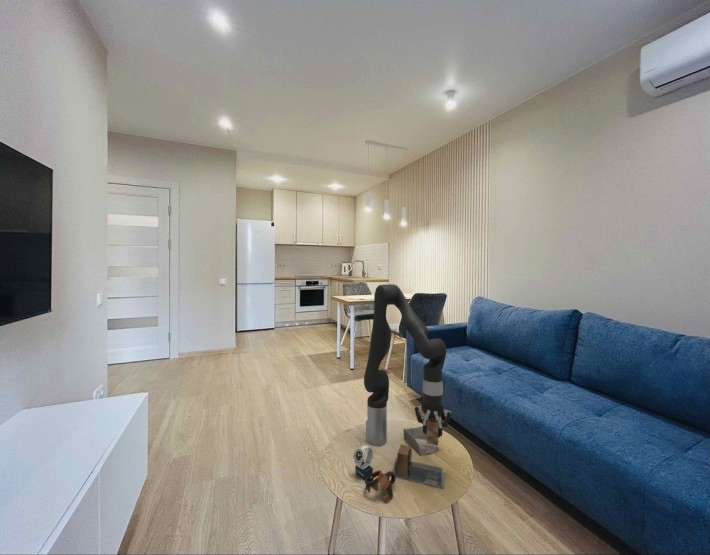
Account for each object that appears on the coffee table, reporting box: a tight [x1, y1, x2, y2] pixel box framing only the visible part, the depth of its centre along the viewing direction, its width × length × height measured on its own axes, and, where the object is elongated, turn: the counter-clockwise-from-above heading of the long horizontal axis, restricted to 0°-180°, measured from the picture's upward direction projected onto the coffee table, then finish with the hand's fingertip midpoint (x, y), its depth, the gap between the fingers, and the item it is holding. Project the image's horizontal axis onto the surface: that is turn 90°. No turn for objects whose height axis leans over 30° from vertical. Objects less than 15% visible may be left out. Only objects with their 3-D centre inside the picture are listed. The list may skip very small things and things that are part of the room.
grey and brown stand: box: [391, 443, 446, 490], centre depth 117 cm, size 20×8×9 cm, turn 69°
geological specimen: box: [403, 426, 440, 457], centre depth 138 cm, size 11×6×15 cm
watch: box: [353, 444, 374, 482], centre depth 117 cm, size 6×8×11 cm
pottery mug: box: [364, 469, 396, 504], centre depth 108 cm, size 12×10×8 cm
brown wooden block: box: [426, 418, 440, 446], centre depth 115 cm, size 5×6×8 cm
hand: (432, 434), depth 115 cm, fingers closed on brown wooden block, 4 cm apart
